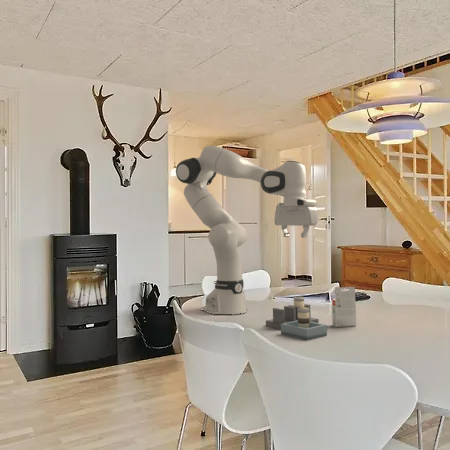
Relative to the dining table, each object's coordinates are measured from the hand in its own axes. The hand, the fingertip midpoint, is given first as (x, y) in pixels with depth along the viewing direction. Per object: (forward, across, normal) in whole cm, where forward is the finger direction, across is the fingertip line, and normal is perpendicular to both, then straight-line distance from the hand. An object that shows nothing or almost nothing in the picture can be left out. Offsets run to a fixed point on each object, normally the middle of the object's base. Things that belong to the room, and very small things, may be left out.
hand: (295, 237), depth 181 cm
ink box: (+33, +19, +6) cm, 38 cm away
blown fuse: (+32, +18, -14) cm, 39 cm away
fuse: (+31, +5, -3) cm, 31 cm away
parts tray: (+33, +18, -14) cm, 40 cm away
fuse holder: (+33, +5, -7) cm, 34 cm away
